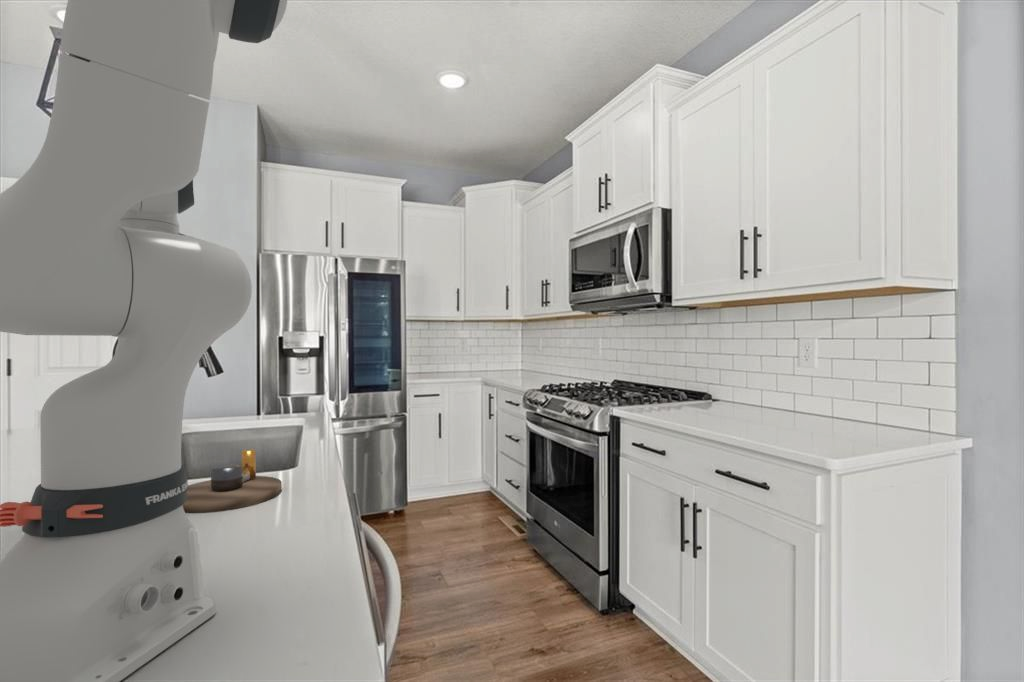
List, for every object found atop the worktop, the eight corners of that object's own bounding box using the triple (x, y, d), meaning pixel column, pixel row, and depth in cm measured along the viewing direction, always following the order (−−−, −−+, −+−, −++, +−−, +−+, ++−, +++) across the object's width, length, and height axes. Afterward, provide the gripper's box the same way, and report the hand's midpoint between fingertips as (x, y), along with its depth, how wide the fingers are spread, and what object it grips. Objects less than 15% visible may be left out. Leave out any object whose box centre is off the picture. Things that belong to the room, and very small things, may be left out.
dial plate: (254, 511, 85) (254, 497, 85) (142, 514, 85) (142, 499, 85) (296, 482, 103) (296, 470, 103) (204, 484, 103) (204, 473, 103)
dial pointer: (231, 490, 91) (230, 461, 91) (204, 490, 92) (204, 460, 92) (264, 476, 102) (264, 449, 102) (240, 475, 102) (240, 449, 102)
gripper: (69, 239, 84) (70, 325, 84) (198, 238, 85) (199, 323, 84) (99, 247, 90) (100, 327, 90) (219, 245, 91) (220, 324, 91)
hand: (149, 325), depth 87 cm, fingers closed
